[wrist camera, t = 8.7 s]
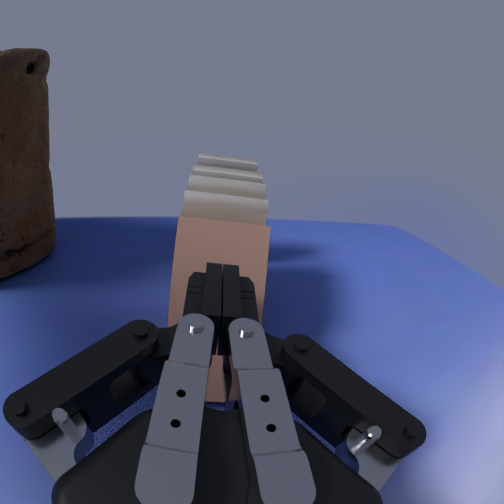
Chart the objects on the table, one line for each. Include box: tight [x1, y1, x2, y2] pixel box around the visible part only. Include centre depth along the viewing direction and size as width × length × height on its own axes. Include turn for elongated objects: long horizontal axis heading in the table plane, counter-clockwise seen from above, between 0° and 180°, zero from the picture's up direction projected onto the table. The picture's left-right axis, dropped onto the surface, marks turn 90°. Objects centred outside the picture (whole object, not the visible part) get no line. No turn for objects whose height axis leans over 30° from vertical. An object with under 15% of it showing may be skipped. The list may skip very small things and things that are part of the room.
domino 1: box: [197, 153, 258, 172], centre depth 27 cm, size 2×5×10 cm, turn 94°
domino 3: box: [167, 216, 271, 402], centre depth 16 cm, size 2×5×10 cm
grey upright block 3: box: [188, 174, 267, 199], centre depth 21 cm, size 2×5×10 cm, turn 94°
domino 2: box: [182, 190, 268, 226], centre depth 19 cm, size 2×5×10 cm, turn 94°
